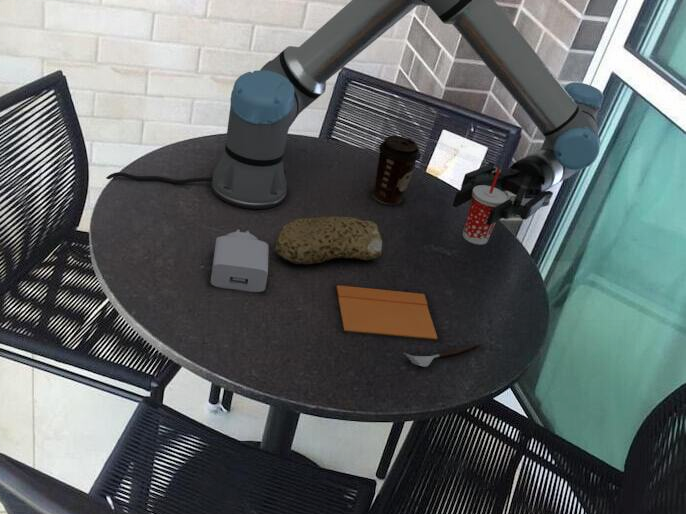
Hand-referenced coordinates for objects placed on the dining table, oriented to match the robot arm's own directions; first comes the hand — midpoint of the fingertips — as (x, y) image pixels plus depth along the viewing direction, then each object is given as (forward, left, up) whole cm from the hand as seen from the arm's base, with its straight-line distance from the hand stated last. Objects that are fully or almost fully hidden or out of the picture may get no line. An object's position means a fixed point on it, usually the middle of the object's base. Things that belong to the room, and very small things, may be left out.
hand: (473, 208), depth 138 cm
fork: (-4, -18, -18) cm, 26 cm away
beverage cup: (+4, +4, -8) cm, 9 cm away
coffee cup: (-5, +33, -18) cm, 38 cm away
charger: (-37, +2, -18) cm, 42 cm away
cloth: (-12, -8, -18) cm, 23 cm away
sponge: (-21, +8, -18) cm, 29 cm away
